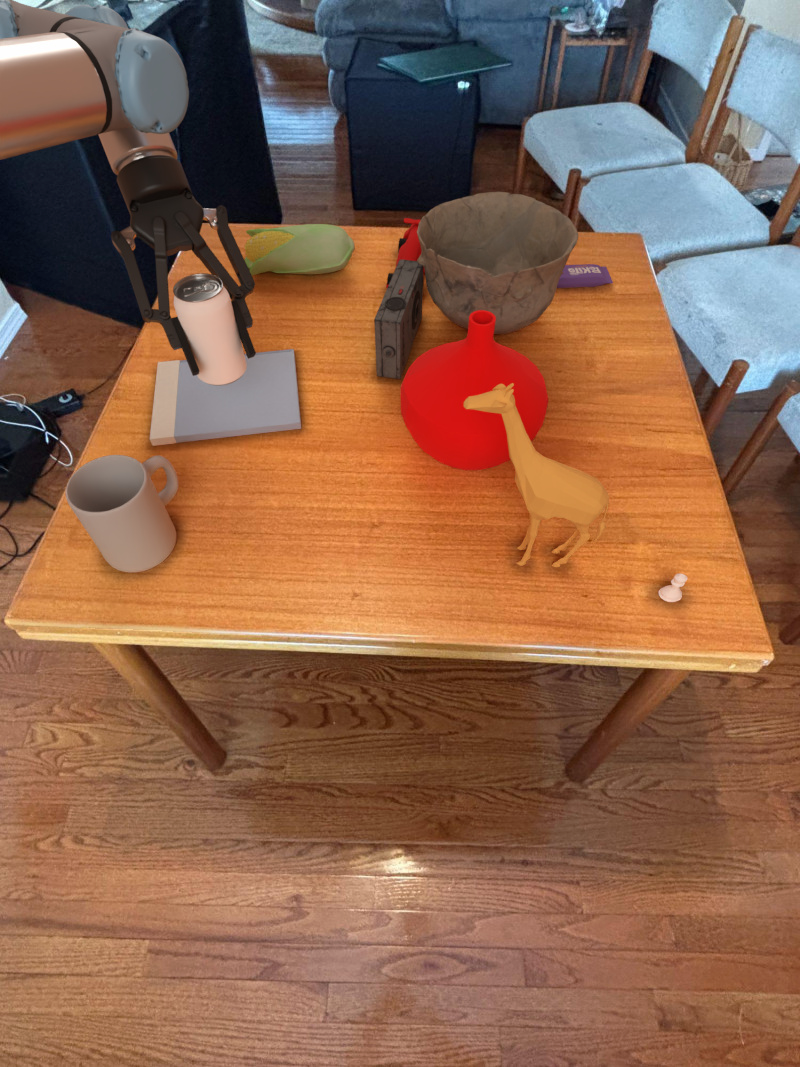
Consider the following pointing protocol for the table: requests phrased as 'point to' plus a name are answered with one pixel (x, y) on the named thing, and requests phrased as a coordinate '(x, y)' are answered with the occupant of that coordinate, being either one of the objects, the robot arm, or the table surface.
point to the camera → (398, 319)
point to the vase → (455, 376)
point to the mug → (125, 509)
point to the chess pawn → (673, 589)
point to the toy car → (408, 245)
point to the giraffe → (545, 479)
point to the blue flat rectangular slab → (226, 401)
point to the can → (210, 328)
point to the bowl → (494, 257)
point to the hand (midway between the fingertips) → (224, 364)
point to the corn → (298, 249)
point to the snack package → (584, 276)
